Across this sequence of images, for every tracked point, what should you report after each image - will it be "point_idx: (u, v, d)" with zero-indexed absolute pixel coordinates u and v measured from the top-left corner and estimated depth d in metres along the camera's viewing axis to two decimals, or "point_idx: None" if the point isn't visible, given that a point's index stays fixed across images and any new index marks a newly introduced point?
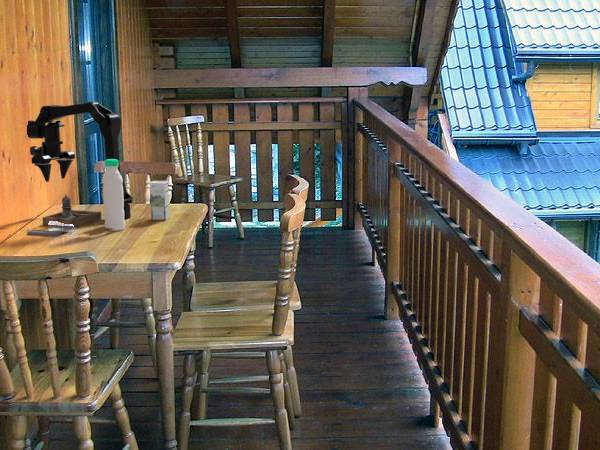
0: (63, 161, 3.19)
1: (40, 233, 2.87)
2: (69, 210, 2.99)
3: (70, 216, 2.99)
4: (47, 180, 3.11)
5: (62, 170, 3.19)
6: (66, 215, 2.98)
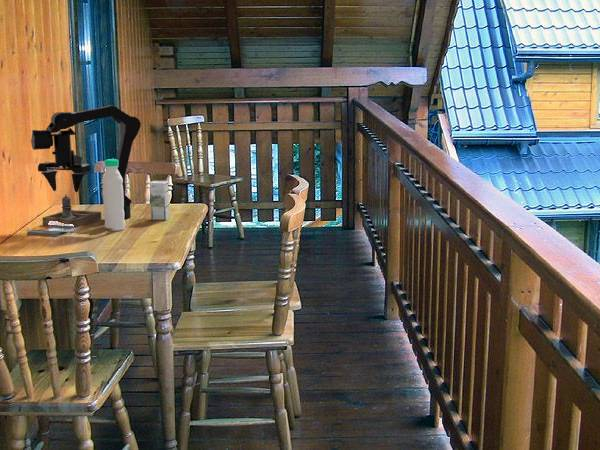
0: None
1: (40, 233, 2.87)
2: (69, 210, 2.99)
3: (70, 216, 2.99)
4: None
5: None
6: (66, 215, 2.98)
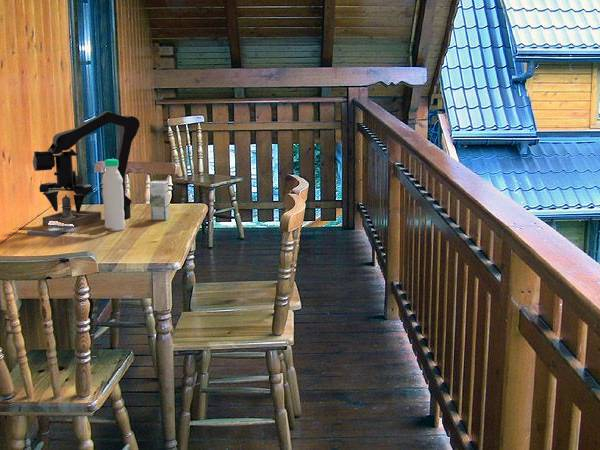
0: None
1: (40, 233, 2.87)
2: (69, 210, 2.99)
3: (70, 216, 2.99)
4: None
5: None
6: (66, 215, 2.98)
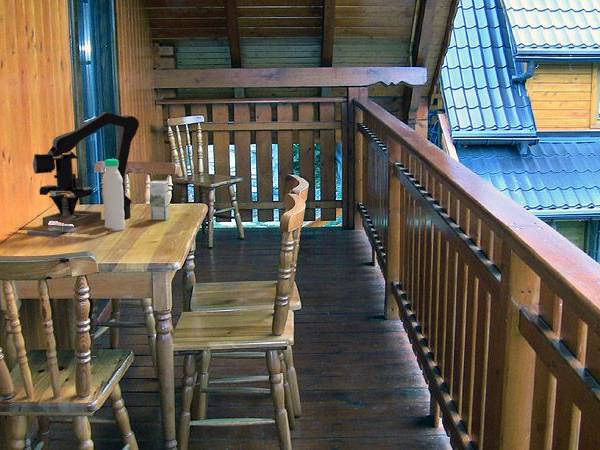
0: None
1: (40, 233, 2.87)
2: None
3: (70, 216, 2.99)
4: None
5: None
6: (66, 215, 2.98)
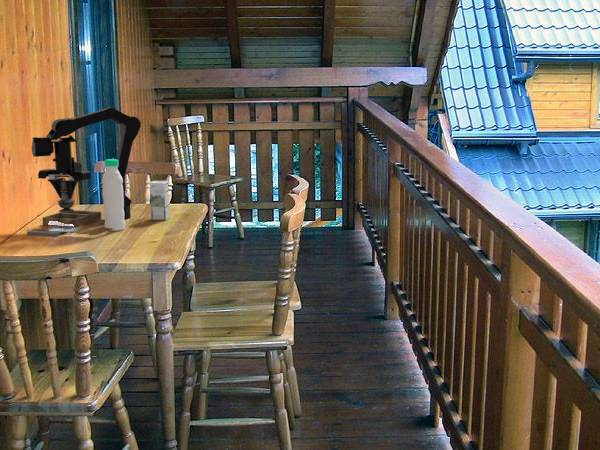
0: None
1: (40, 233, 2.87)
2: None
3: (69, 200, 2.97)
4: None
5: None
6: (65, 199, 2.97)
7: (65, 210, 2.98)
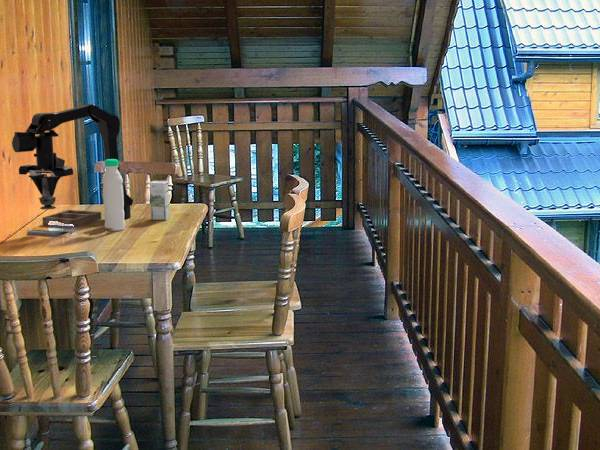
0: None
1: (40, 233, 2.87)
2: None
3: (50, 197, 2.87)
4: None
5: None
6: (46, 195, 2.87)
7: (46, 207, 2.87)
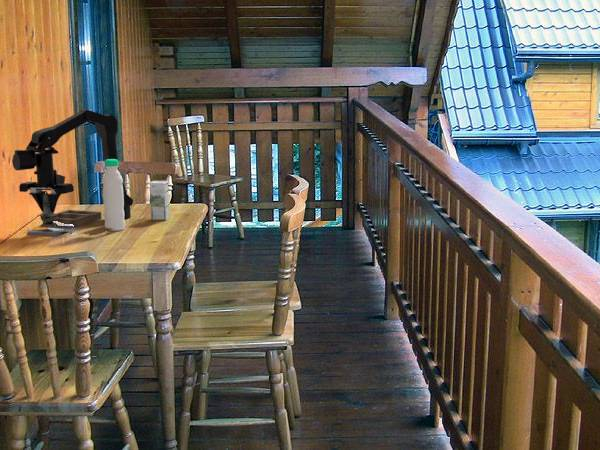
0: None
1: (40, 233, 2.87)
2: None
3: (51, 213, 2.88)
4: None
5: None
6: (47, 212, 2.87)
7: (47, 224, 2.88)
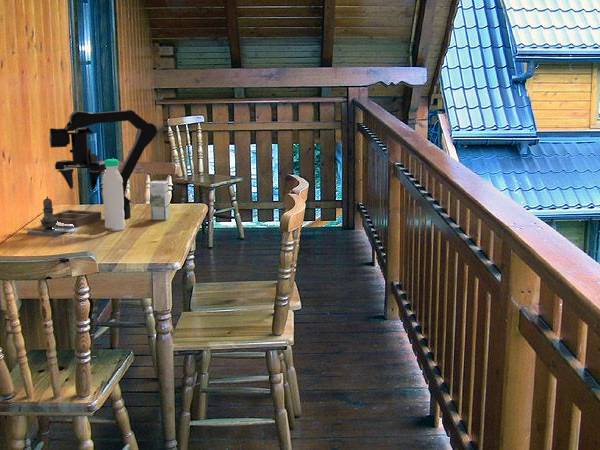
0: None
1: (40, 233, 2.87)
2: (50, 212, 2.88)
3: (52, 219, 2.88)
4: None
5: None
6: (47, 218, 2.88)
7: (48, 229, 2.88)
